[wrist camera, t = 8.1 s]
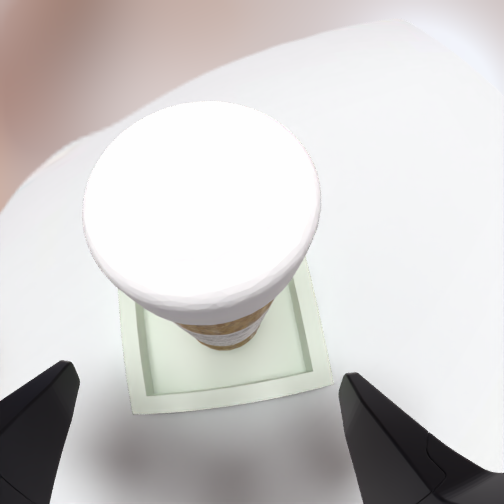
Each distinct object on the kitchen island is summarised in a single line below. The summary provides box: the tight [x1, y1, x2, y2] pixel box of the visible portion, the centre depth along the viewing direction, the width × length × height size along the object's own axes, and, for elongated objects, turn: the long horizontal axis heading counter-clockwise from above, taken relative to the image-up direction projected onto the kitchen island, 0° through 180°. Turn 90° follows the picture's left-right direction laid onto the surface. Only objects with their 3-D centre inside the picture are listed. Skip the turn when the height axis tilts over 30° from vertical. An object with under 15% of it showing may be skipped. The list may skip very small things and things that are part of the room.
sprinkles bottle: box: [82, 101, 321, 351], centre depth 11 cm, size 5×5×14 cm
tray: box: [118, 256, 334, 415], centre depth 17 cm, size 11×11×2 cm
